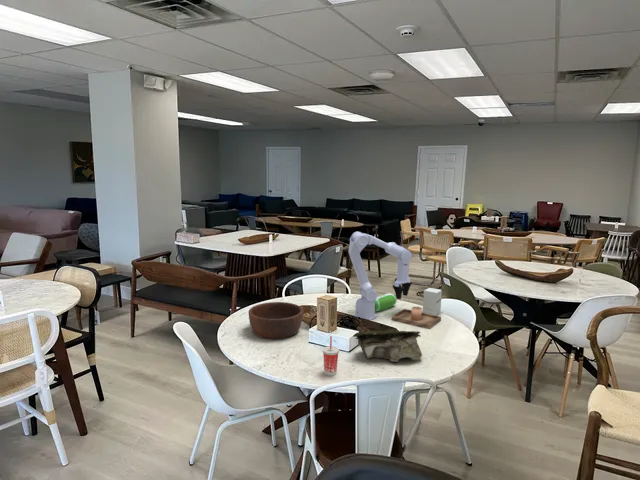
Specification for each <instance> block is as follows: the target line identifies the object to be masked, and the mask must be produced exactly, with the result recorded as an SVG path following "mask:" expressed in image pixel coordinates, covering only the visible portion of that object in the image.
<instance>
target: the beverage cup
mask: <svg viewBox="0 0 640 480" xmlns="http://www.w3.org/2000/svg"><path fill="white" fill-rule="evenodd" d="M329 337H330V338H329V340H330V341H329V345H328V346H324V347H323V348H322V353H323V354H322V355H323V356H322V357H323V373H324V375H326V376H335V375H336V374H337V370H338V358H339V353H340V348H338V347H337V346H332V344H333V343H332V341H333V340H332V336H329Z"/></svg>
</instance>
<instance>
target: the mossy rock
mask: <svg viewBox="0 0 640 480" xmlns="http://www.w3.org/2000/svg"><path fill="white" fill-rule="evenodd" d="M420 334H421V332H420V331H418V330H416V331H414V330H411V331H406V330H399V331H396V330H378V331H377V330H374V331H370V332H369V331H368V332H365V331H363V332H356V333H354V334H353V336H352V337H354V338H355V337H356V338H355V340H357V342H358V343H359V346H360V349H361V351H362V353H363V355H364V357H365V358H366V360H369V359H371V358H379V359H381V358H383V359H385V360H389V361H390V362H399V360H401V359H405V358H409V359H410V360H411V361H419V360H420V359H421V358H422V356H423V353H422V350H421V348H420V346H419V343H418V340H417V339H418V337H419V338H421V337H422V336H421V335H420Z"/></svg>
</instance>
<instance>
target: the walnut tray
mask: <svg viewBox="0 0 640 480" xmlns="http://www.w3.org/2000/svg"><path fill="white" fill-rule="evenodd" d="M411 310H412V309H406V308H402V309H401V310H399V311H398V312H397V313H395V314H393V315H392V316H391V321H393V322H398V323H400V324H401V323H402V324H406V325H409V326H410V325H411V326H414V327H418V328H419V327H420V328H423V329H427V330H430V329H432V328H433V327H435V326H436V325H437V324H438V323H440V322H441V321H442V316H440V315H431V314H427V313H423V312H422V315H421V320H418V321H416V320H412V319H411Z"/></svg>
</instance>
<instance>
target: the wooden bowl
mask: <svg viewBox="0 0 640 480" xmlns="http://www.w3.org/2000/svg"><path fill="white" fill-rule="evenodd" d="M303 316H304V309H303V307H302V306H300V305H297V304H296V303H290V302H284V301H283V302H282V301H272V302H265V303H258V304H257V305H254V306H252V307H251V308H249V310H248V319H249V324H250V327H251V329H252V332H253V333H254V334H255V335H256V336H257V337H259V338H263V339H268V340H283V339H285V338H290V337H293V336H294V335H296V334H297V333H298V332H299V330H300V328H301V326H302V323H303Z"/></svg>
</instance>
